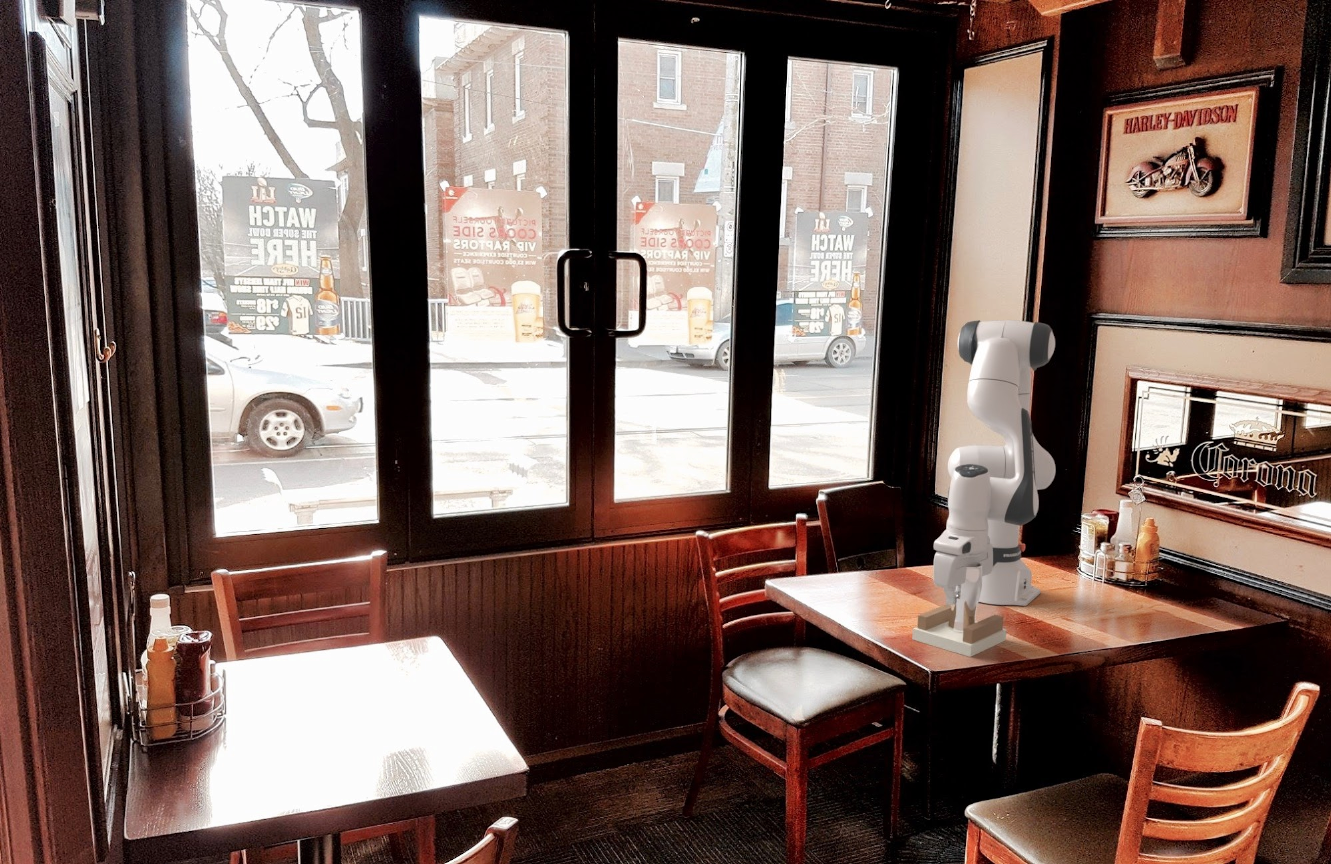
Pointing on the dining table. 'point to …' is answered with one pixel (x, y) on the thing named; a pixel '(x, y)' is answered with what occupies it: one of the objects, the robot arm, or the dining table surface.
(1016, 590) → the robot arm
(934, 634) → the stand
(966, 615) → the beer glass
